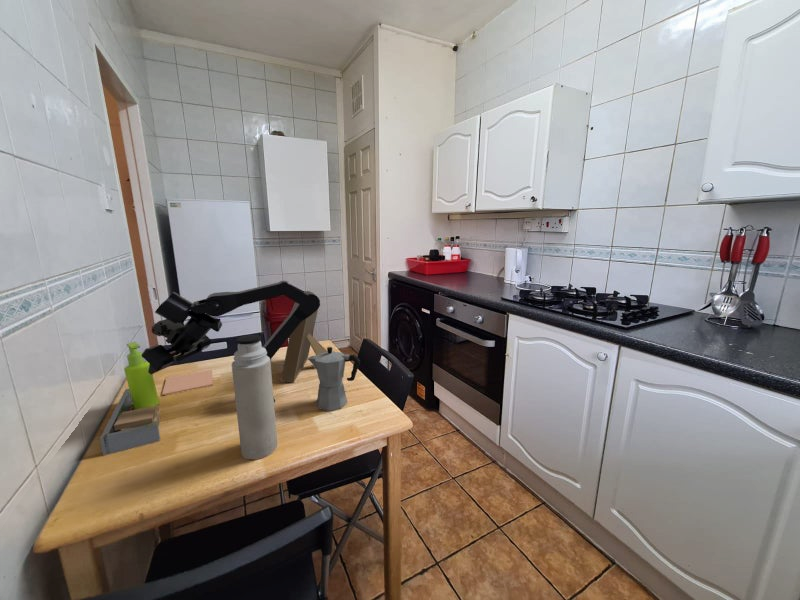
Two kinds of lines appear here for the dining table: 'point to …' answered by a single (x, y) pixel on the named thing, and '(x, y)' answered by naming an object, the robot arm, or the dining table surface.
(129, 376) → the soap dispenser
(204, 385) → the terracotta tile
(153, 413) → the walnut offcuts
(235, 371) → the thermos bottle
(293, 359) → the photo frame
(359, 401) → the dining table surface
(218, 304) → the robot arm
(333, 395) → the coffeepot
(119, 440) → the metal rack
